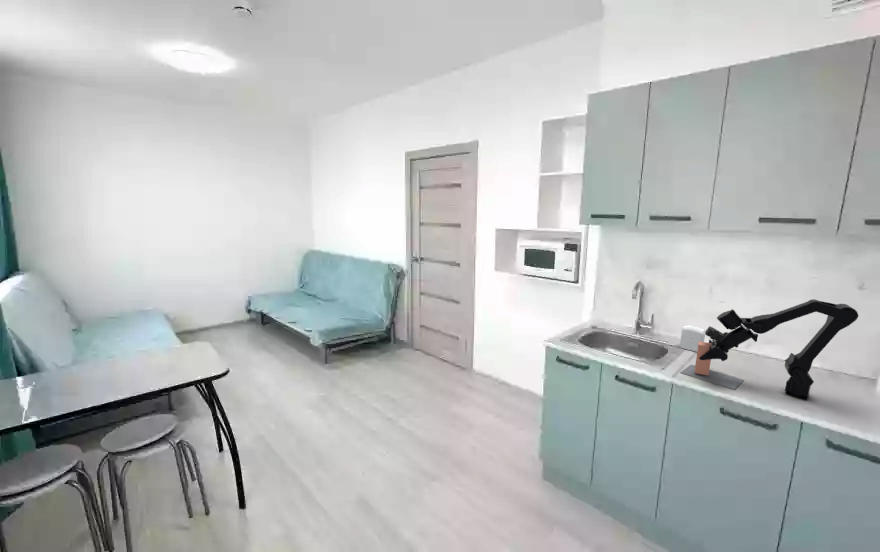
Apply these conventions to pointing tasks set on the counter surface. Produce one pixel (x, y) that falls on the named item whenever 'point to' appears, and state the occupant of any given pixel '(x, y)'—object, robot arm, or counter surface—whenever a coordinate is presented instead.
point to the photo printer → (691, 337)
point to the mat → (714, 377)
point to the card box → (702, 365)
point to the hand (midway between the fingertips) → (699, 357)
